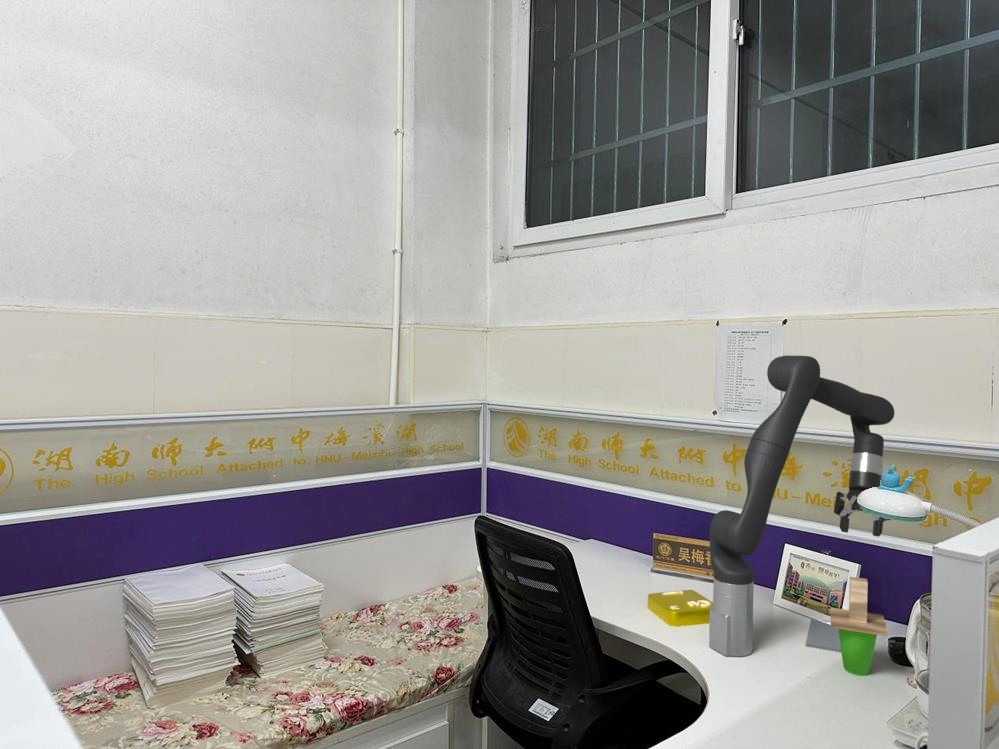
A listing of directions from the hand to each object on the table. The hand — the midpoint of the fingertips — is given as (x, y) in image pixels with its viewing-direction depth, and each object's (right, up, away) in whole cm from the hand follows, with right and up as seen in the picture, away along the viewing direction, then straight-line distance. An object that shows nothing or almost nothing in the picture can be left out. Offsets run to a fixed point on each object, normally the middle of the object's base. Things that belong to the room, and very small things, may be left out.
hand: (860, 534), depth 183 cm
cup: (-12, -26, -23) cm, 37 cm away
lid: (-12, -15, -23) cm, 30 cm away
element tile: (-43, -25, +11) cm, 51 cm away
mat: (-8, -25, -5) cm, 27 cm away
